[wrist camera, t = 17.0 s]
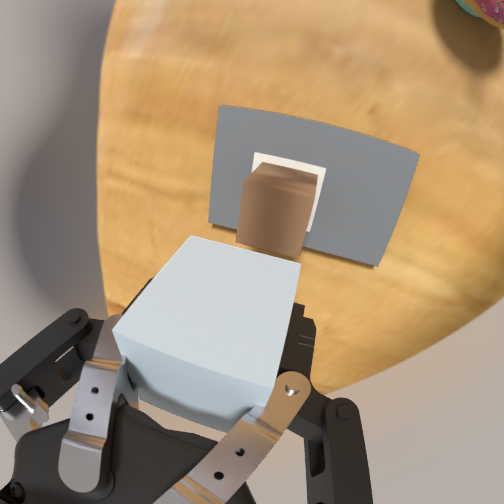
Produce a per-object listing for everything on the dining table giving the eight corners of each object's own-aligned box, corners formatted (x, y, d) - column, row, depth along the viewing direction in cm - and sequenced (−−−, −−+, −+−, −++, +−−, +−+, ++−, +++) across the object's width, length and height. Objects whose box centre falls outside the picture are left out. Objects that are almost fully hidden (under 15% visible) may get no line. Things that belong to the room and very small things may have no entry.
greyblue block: (301, 263, 12) (273, 388, 7) (278, 337, 14) (249, 439, 10) (191, 234, 12) (112, 329, 7) (190, 311, 15) (139, 399, 10)
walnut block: (318, 174, 23) (314, 198, 18) (305, 224, 26) (298, 258, 21) (262, 161, 24) (243, 181, 19) (254, 211, 27) (235, 242, 22)
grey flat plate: (415, 151, 21) (420, 155, 19) (376, 260, 27) (377, 267, 26) (223, 105, 23) (218, 105, 22) (212, 217, 30) (208, 223, 29)
